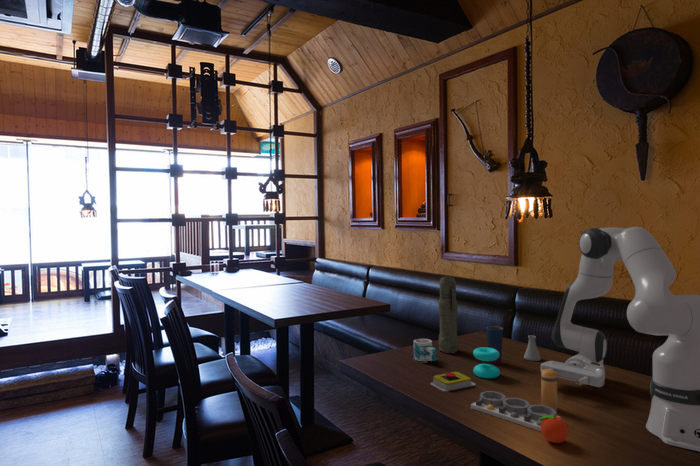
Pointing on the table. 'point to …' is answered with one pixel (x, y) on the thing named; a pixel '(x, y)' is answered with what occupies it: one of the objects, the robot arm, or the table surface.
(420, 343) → the mug
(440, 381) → the emergency button
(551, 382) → the orange-brown tall cylinder
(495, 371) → the donuts
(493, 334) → the cup
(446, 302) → the thermos
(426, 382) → the table surface
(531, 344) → the flask
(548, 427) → the clementine
